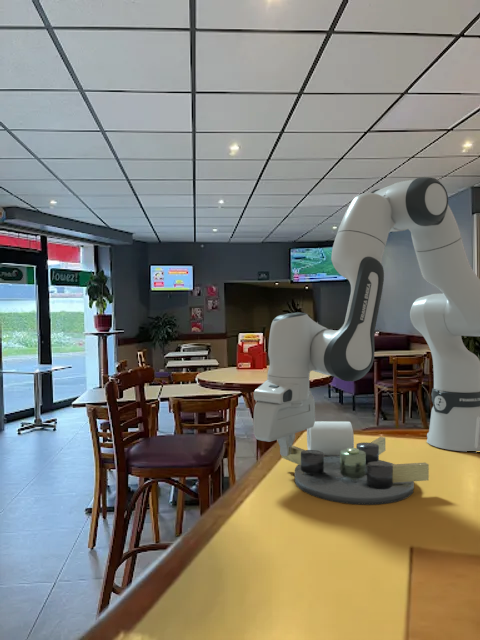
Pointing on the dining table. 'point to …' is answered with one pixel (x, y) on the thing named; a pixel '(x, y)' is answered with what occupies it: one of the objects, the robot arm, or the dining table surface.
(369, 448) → the knob
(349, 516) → the dining table surface
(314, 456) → the knob
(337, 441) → the mug
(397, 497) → the tribrach plate
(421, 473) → the knob
